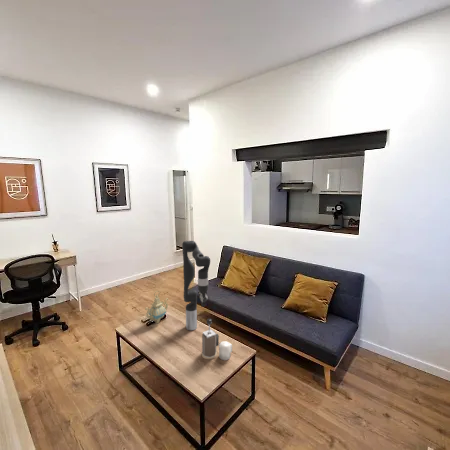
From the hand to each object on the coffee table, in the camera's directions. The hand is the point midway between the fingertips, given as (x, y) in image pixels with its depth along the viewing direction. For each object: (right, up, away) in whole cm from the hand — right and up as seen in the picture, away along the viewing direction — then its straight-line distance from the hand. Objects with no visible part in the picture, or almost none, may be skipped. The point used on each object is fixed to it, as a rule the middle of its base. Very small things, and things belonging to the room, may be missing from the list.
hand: (203, 306), depth 182 cm
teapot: (-43, -28, +38) cm, 64 cm away
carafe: (+5, -34, -2) cm, 34 cm away
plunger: (+5, -25, -4) cm, 25 cm away
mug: (+16, -34, -5) cm, 38 cm away
